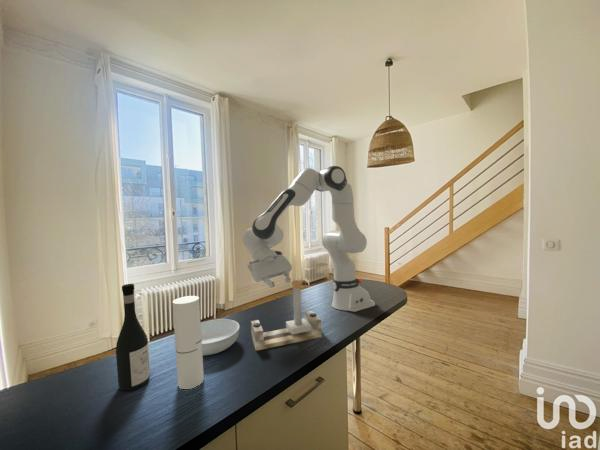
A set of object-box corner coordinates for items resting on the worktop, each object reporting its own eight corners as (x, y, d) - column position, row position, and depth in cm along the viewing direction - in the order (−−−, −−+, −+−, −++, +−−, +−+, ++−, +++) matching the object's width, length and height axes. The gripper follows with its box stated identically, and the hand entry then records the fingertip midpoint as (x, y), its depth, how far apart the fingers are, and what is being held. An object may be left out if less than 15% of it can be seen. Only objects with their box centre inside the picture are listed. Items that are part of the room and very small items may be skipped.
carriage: (304, 322, 109) (302, 277, 108) (311, 330, 101) (309, 281, 100) (286, 326, 106) (283, 279, 105) (291, 334, 99) (289, 284, 98)
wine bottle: (156, 375, 81) (149, 280, 80) (137, 392, 73) (130, 288, 72) (132, 374, 82) (125, 281, 81) (111, 392, 74) (104, 288, 73)
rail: (312, 326, 111) (311, 309, 111) (321, 336, 102) (321, 318, 102) (251, 338, 103) (250, 320, 103) (255, 350, 93) (254, 330, 93)
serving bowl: (223, 330, 112) (222, 314, 111) (251, 346, 97) (250, 328, 97) (173, 349, 97) (171, 331, 97) (196, 371, 82) (194, 350, 82)
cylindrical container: (208, 376, 79) (204, 296, 78) (192, 392, 73) (186, 304, 71) (190, 372, 82) (185, 295, 81) (172, 387, 75) (166, 302, 74)
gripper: (248, 258, 106) (265, 285, 100) (284, 251, 121) (300, 274, 115) (242, 267, 109) (258, 294, 103) (278, 259, 124) (293, 282, 118)
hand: (281, 283), depth 109 cm, fingers open, 8 cm apart
